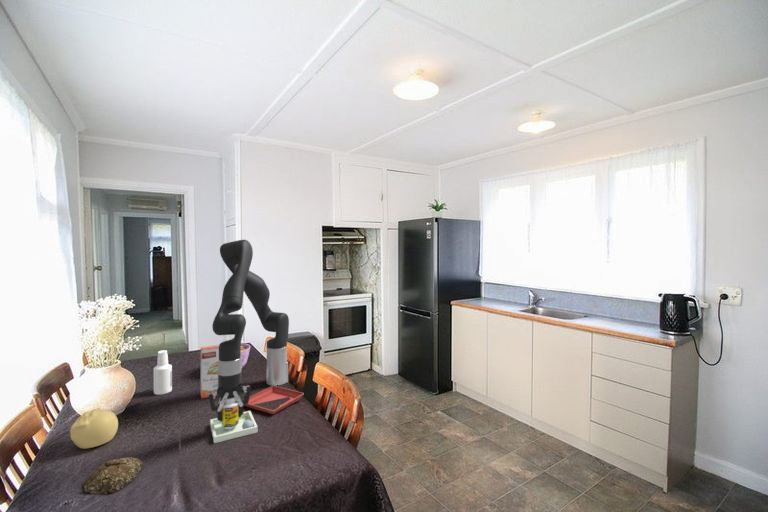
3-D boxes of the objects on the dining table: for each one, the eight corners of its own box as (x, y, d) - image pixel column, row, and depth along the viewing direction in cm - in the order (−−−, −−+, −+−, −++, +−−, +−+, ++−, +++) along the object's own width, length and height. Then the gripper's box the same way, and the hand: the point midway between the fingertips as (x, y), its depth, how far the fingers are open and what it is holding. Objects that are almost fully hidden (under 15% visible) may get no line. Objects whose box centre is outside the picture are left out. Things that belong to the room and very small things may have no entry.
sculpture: (80, 437, 118) (79, 405, 117) (123, 431, 122) (122, 400, 122) (63, 456, 107) (62, 422, 107) (110, 448, 111) (110, 415, 111)
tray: (250, 417, 132) (250, 410, 132) (257, 433, 121) (257, 426, 121) (210, 426, 125) (210, 419, 125) (214, 445, 114) (214, 437, 114)
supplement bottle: (223, 431, 120) (222, 401, 119) (220, 424, 124) (220, 395, 124) (240, 426, 123) (240, 397, 122) (237, 419, 127) (237, 392, 127)
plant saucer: (239, 408, 140) (239, 400, 140) (273, 392, 156) (273, 384, 156) (273, 419, 132) (273, 410, 132) (304, 400, 148) (304, 393, 148)
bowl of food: (198, 374, 175) (198, 351, 175) (227, 362, 194) (227, 341, 194) (232, 379, 169) (232, 355, 169) (258, 366, 188) (258, 344, 188)
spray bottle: (175, 388, 158) (175, 349, 157) (164, 395, 151) (164, 353, 150) (161, 388, 158) (161, 348, 158) (149, 394, 152) (149, 353, 151)
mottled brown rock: (150, 465, 104) (150, 448, 103) (120, 495, 91) (119, 476, 91) (106, 466, 103) (105, 449, 103) (69, 496, 91) (69, 477, 91)
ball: (251, 427, 124) (251, 417, 124) (253, 431, 121) (253, 421, 121) (241, 429, 122) (241, 419, 122) (243, 434, 119) (243, 424, 119)
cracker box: (201, 399, 147) (201, 350, 147) (200, 394, 152) (200, 346, 152) (237, 392, 155) (237, 345, 154) (235, 387, 160) (234, 342, 159)
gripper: (249, 364, 130) (249, 409, 130) (206, 371, 122) (206, 418, 123) (253, 370, 123) (253, 418, 124) (207, 378, 116) (208, 428, 117)
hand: (230, 418), depth 123 cm, fingers closed on supplement bottle, 5 cm apart
